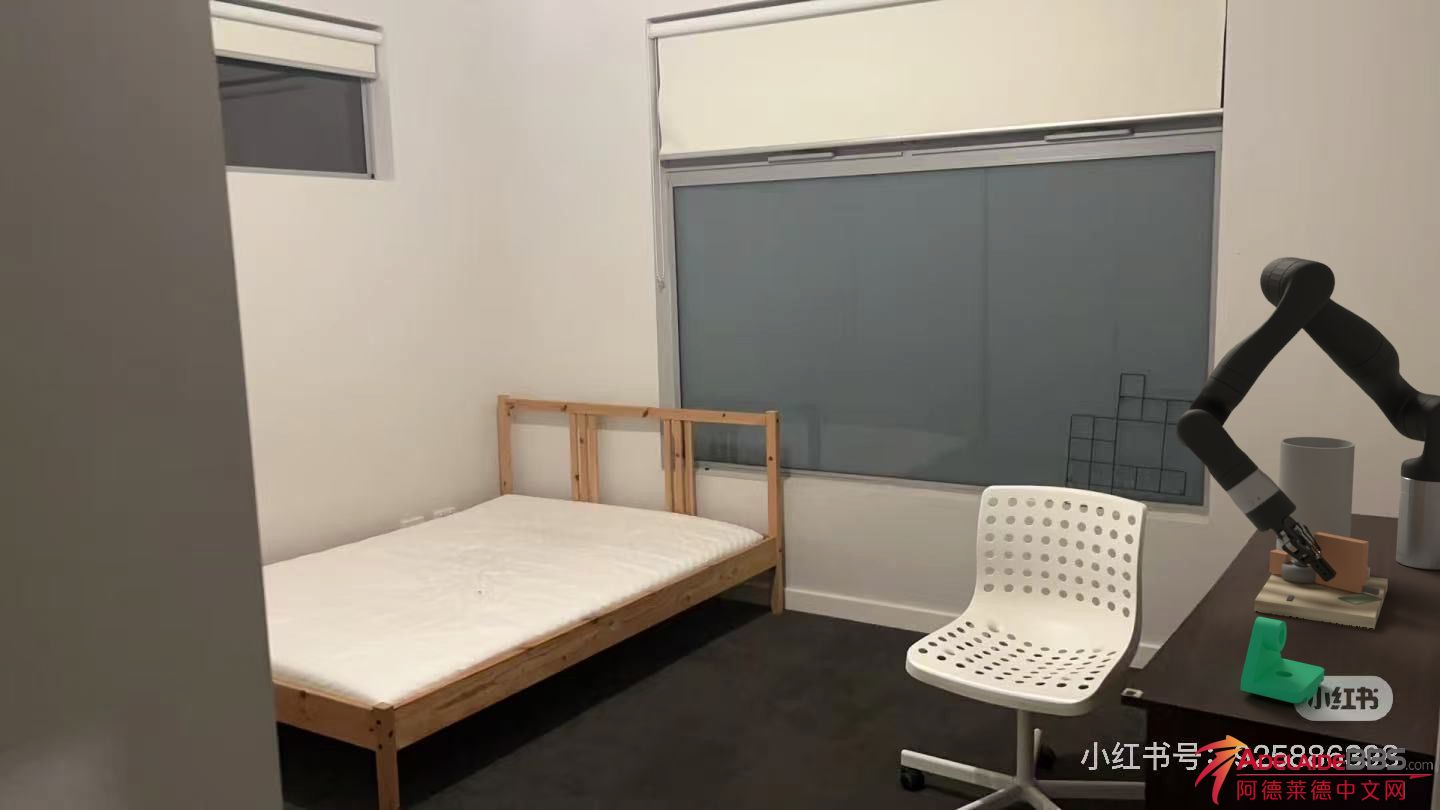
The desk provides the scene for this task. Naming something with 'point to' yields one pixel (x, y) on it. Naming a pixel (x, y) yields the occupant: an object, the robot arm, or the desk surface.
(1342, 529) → the cylinder vase
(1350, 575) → the orange grey panel fixture
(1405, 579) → the desk surface
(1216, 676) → the desk surface
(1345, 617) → the level stand
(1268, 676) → the camera mount
